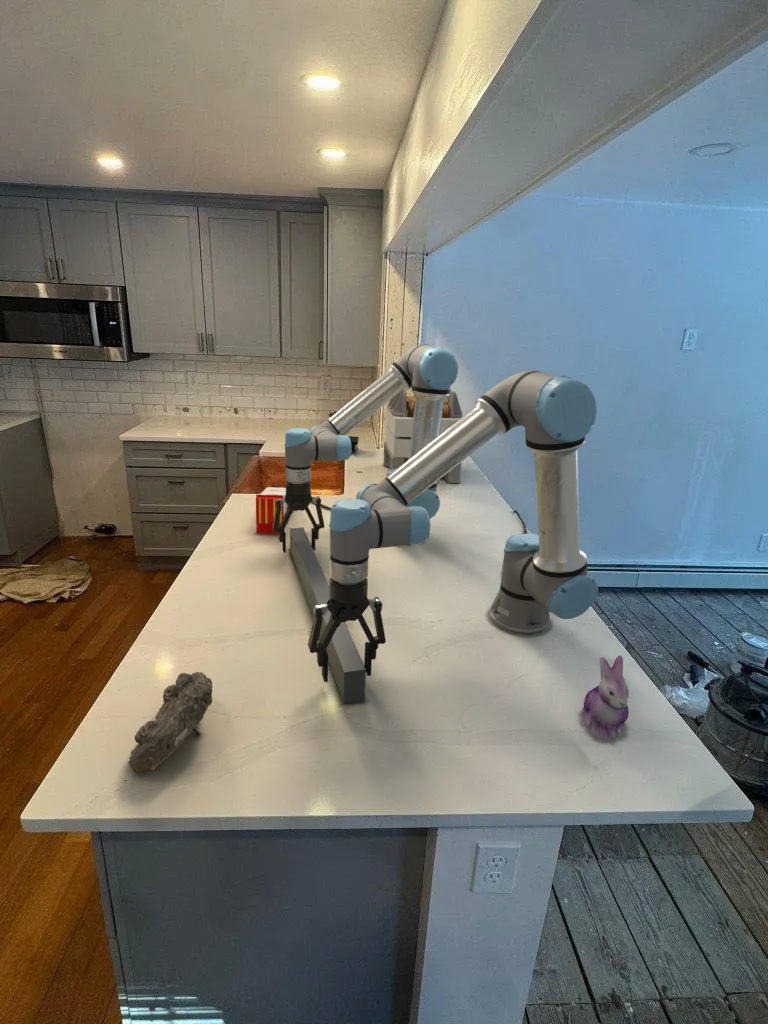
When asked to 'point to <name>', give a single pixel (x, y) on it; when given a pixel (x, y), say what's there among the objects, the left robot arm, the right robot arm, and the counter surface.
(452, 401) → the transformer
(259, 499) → the toy
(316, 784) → the counter surface
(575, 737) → the counter surface
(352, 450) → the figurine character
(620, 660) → the figurine
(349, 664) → the bar
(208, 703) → the fossil
